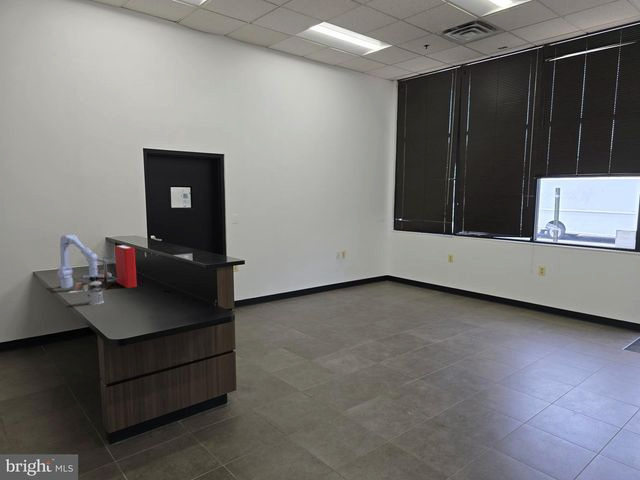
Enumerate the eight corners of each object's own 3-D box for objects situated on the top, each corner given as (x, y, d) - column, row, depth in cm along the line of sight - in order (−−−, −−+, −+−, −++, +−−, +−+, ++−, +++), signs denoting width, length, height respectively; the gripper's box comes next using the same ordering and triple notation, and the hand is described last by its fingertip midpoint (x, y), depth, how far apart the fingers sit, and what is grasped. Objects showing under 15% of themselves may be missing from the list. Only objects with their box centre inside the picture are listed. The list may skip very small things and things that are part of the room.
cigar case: (92, 284, 350) (91, 270, 349) (92, 284, 352) (91, 270, 350) (106, 283, 356) (105, 269, 354) (106, 282, 357) (105, 268, 356)
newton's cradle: (119, 280, 367) (117, 260, 365) (106, 282, 359) (105, 261, 357) (105, 275, 387) (103, 256, 385) (93, 277, 379) (91, 258, 377)
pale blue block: (71, 292, 324) (70, 285, 323) (88, 291, 325) (87, 284, 325) (67, 294, 318) (67, 286, 317) (84, 293, 320) (84, 286, 319)
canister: (77, 288, 331) (76, 282, 330) (83, 288, 332) (82, 282, 331) (74, 289, 327) (74, 284, 326) (80, 289, 327) (80, 283, 327)
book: (117, 282, 358) (114, 245, 354) (127, 281, 363) (124, 244, 359) (126, 288, 337) (124, 248, 333) (137, 286, 342) (134, 247, 338)
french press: (86, 305, 288) (83, 269, 285) (92, 300, 299) (89, 266, 296) (102, 304, 290) (99, 268, 287) (107, 299, 301) (104, 265, 298)
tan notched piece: (76, 289, 332) (75, 282, 331) (92, 289, 333) (91, 282, 333) (72, 291, 326) (72, 284, 325) (89, 291, 327) (88, 284, 327)
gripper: (81, 270, 324) (82, 288, 326) (101, 270, 326) (102, 287, 327) (84, 269, 331) (86, 285, 332) (104, 268, 333) (105, 285, 334)
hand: (94, 286), depth 330 cm, fingers closed
